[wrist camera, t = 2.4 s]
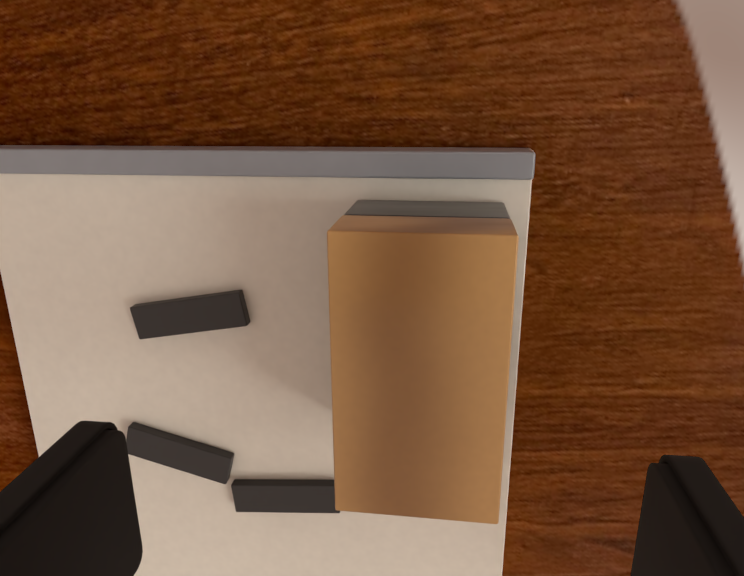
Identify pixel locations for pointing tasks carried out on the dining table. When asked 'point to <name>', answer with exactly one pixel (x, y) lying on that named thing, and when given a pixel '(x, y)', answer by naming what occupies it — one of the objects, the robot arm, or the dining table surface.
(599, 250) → the dining table surface
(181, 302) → the block
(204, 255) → the whiteboard
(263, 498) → the bar
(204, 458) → the marker stroke
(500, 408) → the eraser
